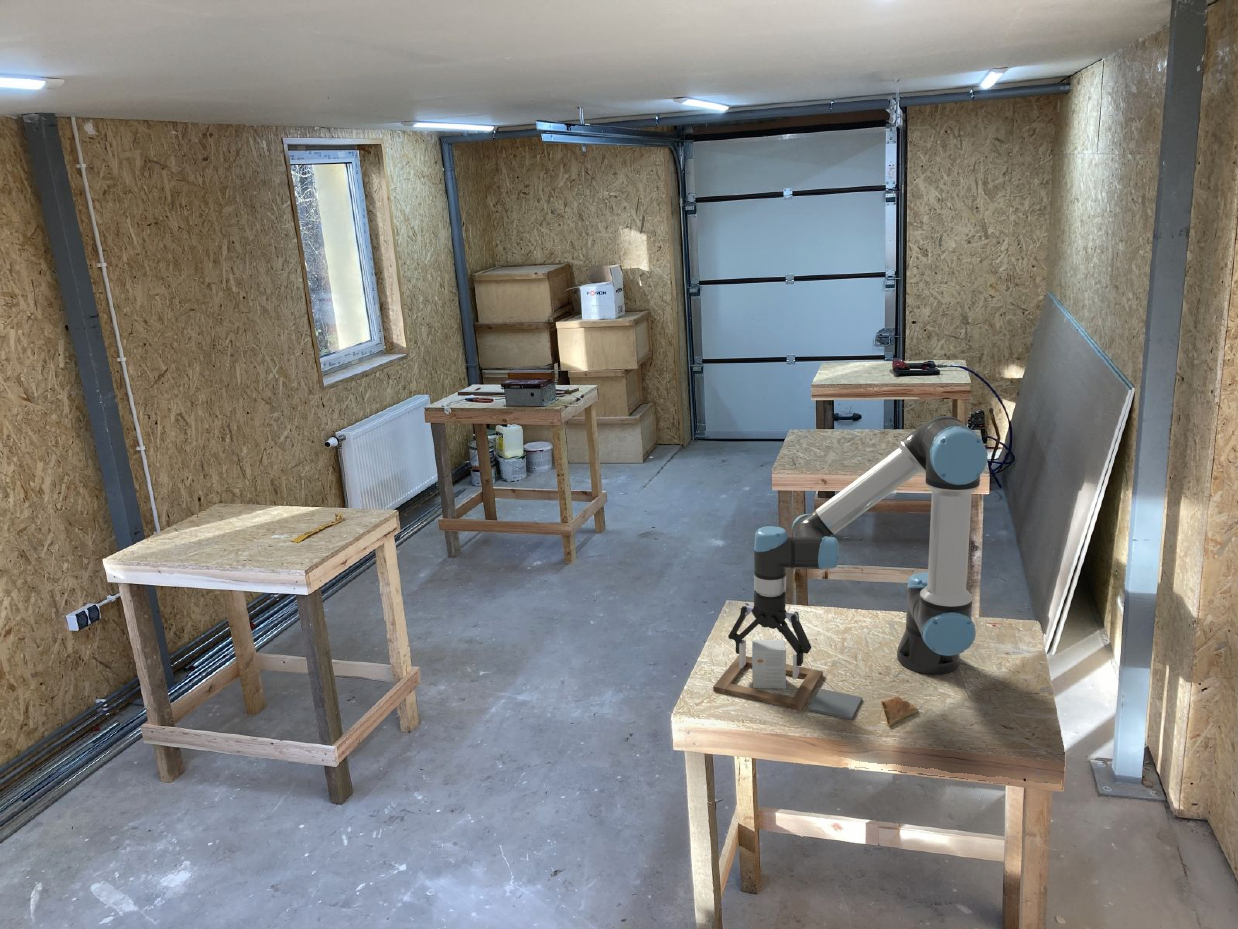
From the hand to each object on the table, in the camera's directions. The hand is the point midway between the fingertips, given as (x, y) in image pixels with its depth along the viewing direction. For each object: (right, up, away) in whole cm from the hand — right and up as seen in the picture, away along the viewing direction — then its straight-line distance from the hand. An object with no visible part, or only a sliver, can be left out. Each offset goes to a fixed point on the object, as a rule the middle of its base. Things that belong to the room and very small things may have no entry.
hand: (768, 671), depth 231 cm
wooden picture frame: (0, -3, +1) cm, 3 cm away
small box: (0, -3, +1) cm, 4 cm away
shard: (+28, -7, -15) cm, 32 cm away
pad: (+14, -6, -10) cm, 18 cm away
